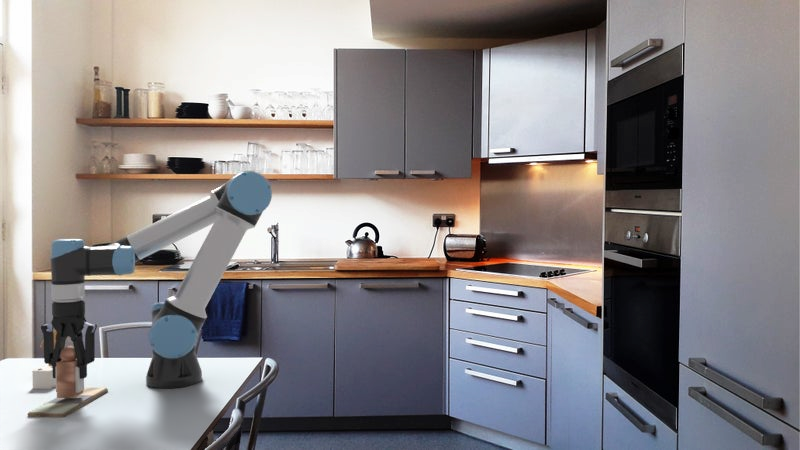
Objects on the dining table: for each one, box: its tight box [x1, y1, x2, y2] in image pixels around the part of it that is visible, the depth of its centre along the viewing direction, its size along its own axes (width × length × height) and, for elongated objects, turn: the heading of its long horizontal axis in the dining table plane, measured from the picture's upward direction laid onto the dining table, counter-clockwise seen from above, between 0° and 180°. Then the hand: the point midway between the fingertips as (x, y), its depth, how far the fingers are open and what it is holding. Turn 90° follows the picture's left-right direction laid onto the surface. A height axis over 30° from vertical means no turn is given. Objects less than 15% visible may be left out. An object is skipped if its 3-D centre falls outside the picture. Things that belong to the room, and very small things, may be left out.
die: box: [31, 365, 56, 390], centre depth 182 cm, size 5×5×5 cm
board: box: [27, 386, 109, 418], centre depth 165 cm, size 9×21×1 cm, turn 177°
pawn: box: [56, 345, 83, 398], centre depth 165 cm, size 4×4×13 cm
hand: (70, 390), depth 165 cm, fingers closed on pawn, 4 cm apart
